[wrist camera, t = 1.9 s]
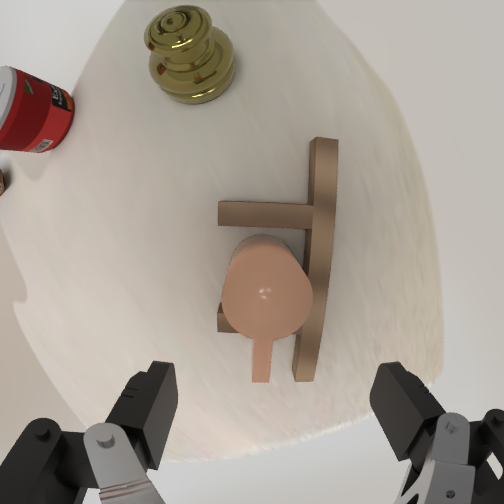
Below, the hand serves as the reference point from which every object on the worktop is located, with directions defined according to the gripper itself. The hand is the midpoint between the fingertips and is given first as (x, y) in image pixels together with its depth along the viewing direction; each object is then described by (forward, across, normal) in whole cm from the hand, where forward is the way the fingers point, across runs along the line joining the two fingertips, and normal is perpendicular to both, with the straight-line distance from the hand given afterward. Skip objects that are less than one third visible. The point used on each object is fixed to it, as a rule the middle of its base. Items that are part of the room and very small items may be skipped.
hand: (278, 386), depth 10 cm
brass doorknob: (+18, +7, -19) cm, 27 cm away
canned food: (+18, +25, -16) cm, 35 cm away
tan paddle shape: (+18, 0, +2) cm, 18 cm away
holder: (+18, 0, 0) cm, 18 cm away
